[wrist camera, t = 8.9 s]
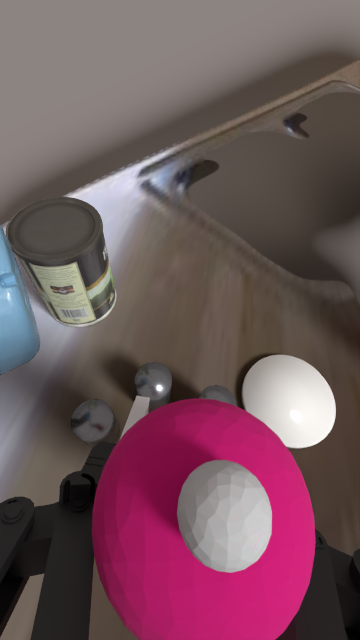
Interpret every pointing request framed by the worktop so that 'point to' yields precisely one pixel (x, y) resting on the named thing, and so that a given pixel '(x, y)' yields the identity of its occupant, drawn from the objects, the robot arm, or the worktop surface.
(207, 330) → the worktop surface
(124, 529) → the pepper mill
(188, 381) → the worktop surface
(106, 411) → the posts
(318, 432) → the disc
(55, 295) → the coffee can
